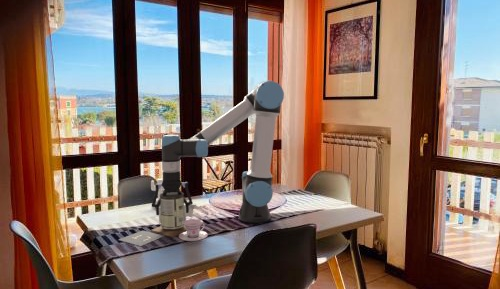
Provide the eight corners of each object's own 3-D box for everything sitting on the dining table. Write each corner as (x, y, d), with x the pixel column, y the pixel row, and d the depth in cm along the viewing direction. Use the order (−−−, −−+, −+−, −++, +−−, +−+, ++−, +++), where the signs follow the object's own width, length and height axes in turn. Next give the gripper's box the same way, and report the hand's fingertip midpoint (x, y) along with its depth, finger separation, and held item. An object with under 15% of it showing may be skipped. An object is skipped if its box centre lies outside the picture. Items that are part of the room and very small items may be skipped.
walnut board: (193, 228, 164) (193, 226, 164) (173, 237, 153) (173, 235, 153) (172, 223, 171) (172, 221, 171) (151, 231, 160) (151, 229, 159)
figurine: (170, 207, 198) (169, 179, 196) (152, 208, 195) (151, 180, 193) (168, 203, 204) (168, 177, 203) (151, 205, 201) (150, 178, 200)
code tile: (164, 236, 154) (164, 235, 154) (140, 246, 143) (140, 245, 143) (142, 230, 161) (142, 230, 161) (118, 240, 150) (118, 239, 150)
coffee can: (165, 221, 167) (164, 190, 166) (187, 222, 166) (186, 191, 165) (157, 229, 157) (156, 196, 155) (180, 229, 156) (180, 197, 154)
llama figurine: (200, 232, 178) (161, 219, 174) (209, 208, 178) (171, 195, 174) (200, 234, 176) (161, 221, 172) (210, 210, 176) (171, 196, 172)
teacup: (180, 243, 147) (179, 227, 146) (177, 232, 159) (177, 218, 158) (209, 240, 150) (209, 225, 150) (205, 230, 162) (205, 216, 161)
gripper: (143, 173, 153) (145, 225, 155) (198, 171, 158) (199, 221, 160) (144, 170, 160) (146, 220, 162) (197, 168, 165) (197, 216, 168)
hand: (172, 221), depth 161 cm, fingers closed on coffee can, 10 cm apart
